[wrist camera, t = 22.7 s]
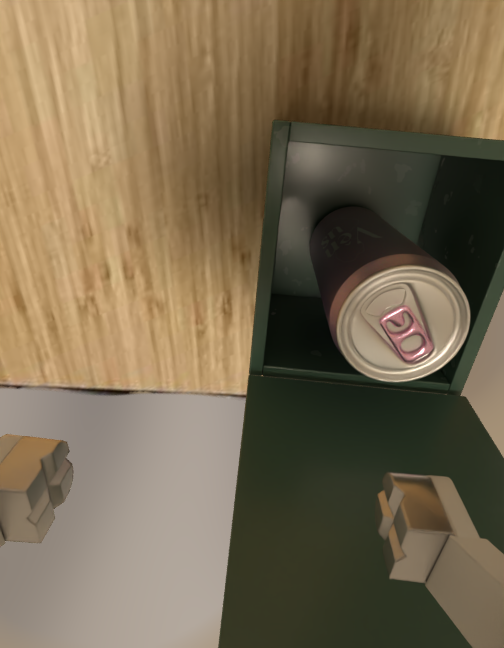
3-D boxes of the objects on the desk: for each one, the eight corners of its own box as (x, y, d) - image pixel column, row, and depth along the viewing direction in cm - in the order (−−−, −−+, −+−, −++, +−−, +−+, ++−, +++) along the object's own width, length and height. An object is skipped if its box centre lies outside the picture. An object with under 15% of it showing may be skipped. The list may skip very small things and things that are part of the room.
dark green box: (274, 119, 28) (272, 119, 17) (454, 136, 27) (562, 145, 17) (257, 296, 34) (248, 375, 23) (403, 311, 34) (460, 396, 23)
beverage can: (334, 294, 32) (374, 407, 19) (294, 235, 30) (305, 312, 17) (401, 254, 30) (498, 345, 17) (362, 188, 29) (437, 231, 15)
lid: (211, 707, 10) (207, 761, 13) (692, 761, 10) (596, 805, 13) (248, 374, 23) (243, 433, 25) (465, 396, 23) (439, 453, 25)
